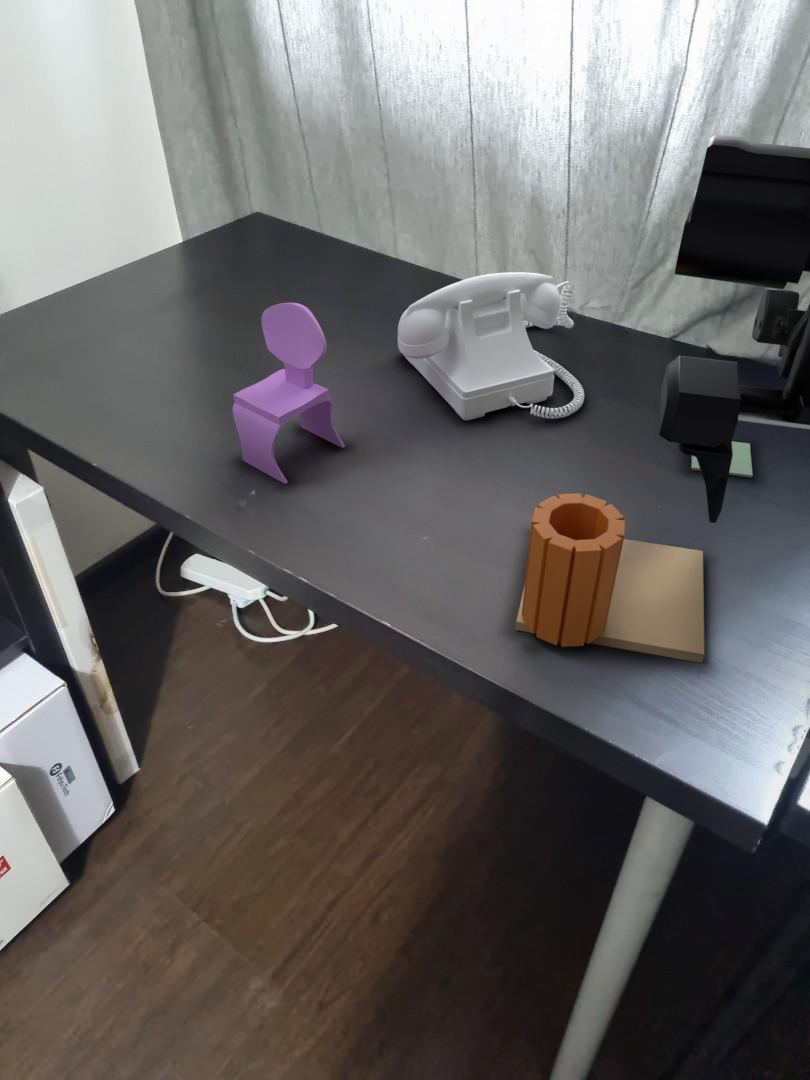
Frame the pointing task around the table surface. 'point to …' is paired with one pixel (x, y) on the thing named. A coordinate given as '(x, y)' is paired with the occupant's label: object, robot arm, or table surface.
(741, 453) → the grey flat piece
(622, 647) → the ring board
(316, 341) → the toy chair
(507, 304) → the telephone
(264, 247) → the table surface
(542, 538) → the pen holder
